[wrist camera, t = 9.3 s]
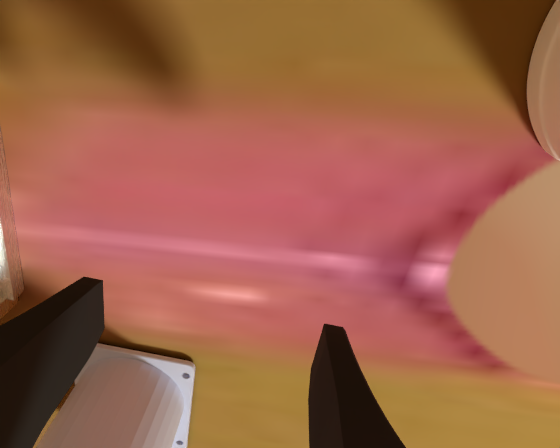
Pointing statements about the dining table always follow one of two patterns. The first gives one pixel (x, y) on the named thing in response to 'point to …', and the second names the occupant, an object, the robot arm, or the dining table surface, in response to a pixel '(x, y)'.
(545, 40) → the jar
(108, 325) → the dining table surface
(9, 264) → the door track
